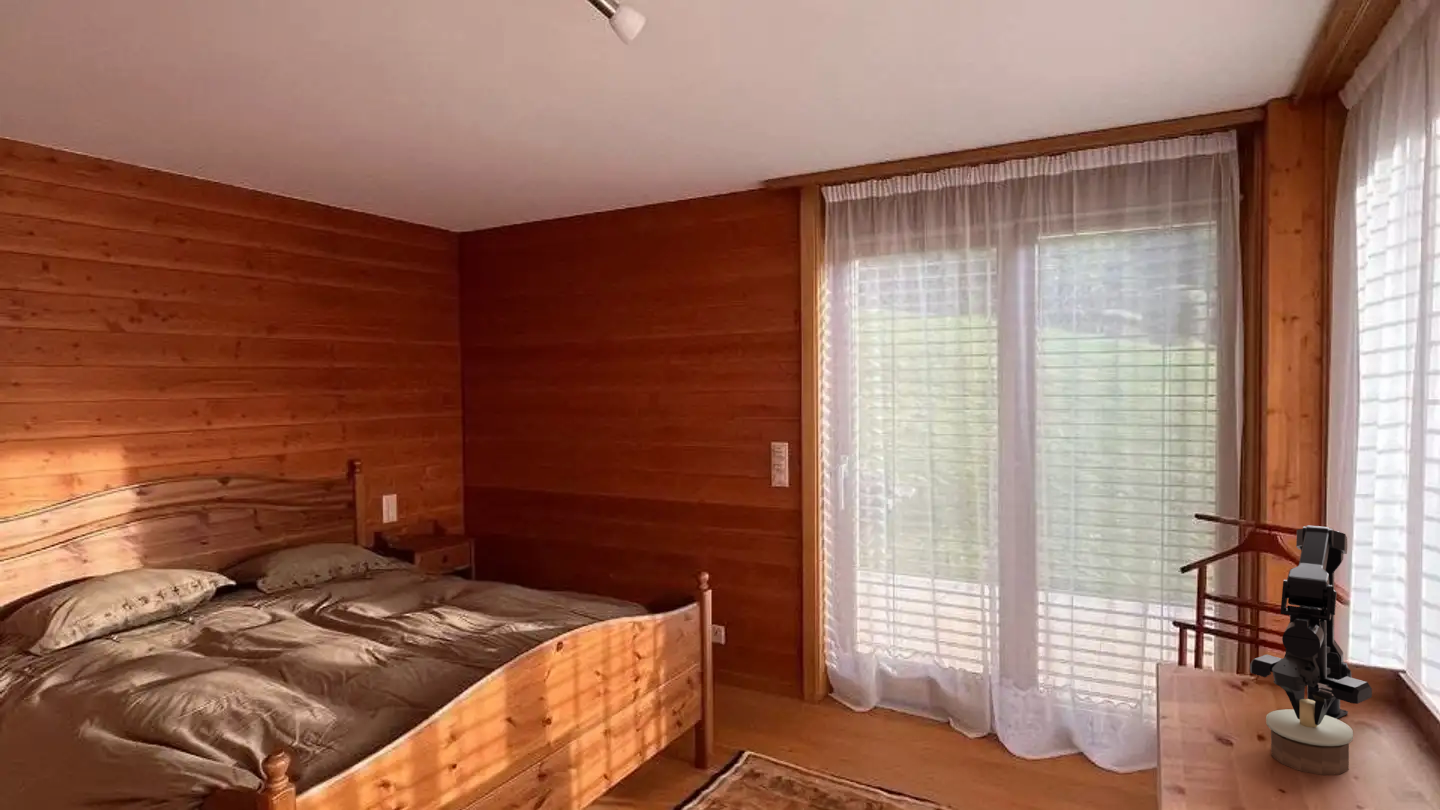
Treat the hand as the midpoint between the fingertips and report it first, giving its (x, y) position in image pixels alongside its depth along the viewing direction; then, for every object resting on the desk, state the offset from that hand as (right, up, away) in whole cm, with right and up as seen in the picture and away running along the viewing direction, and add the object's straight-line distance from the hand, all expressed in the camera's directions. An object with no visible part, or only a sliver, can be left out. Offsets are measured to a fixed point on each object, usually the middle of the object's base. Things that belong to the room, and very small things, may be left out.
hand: (1308, 721), depth 161 cm
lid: (0, -3, 0) cm, 3 cm away
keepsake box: (0, -7, 0) cm, 7 cm away
